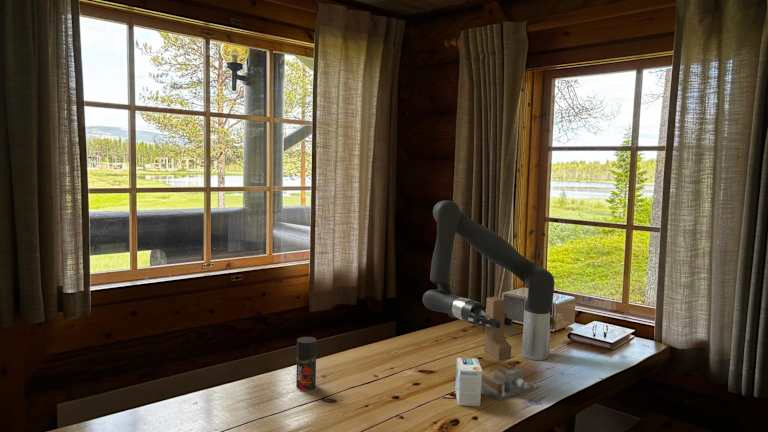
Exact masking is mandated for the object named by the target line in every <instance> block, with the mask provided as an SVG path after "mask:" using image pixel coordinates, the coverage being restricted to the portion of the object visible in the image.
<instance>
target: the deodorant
mask: <svg viewBox="0 0 768 432" xmlns="http://www.w3.org/2000/svg"><path fill="white" fill-rule="evenodd" d="M317 340H318V339H317V338H316V337H313V336H301V337H299V338H297V339H296V375H295V376H296V378H295V379H296V382H295V384H296V385H295V387H297V388H298V389H300V390H299V391H301V390H303V391H302V392H309V391H313V390H315V389H316V384H317V381H316V379H317ZM297 388H296V389H297ZM298 389H297V390H298Z"/></svg>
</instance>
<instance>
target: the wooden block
mask: <svg viewBox="0 0 768 432" xmlns="http://www.w3.org/2000/svg"><path fill="white" fill-rule="evenodd" d="M485 309H486V314H488V317H490V318H491V319H495V320H497V321H500V322H501V328H499V329H498V328H495V327H492V326H487V325H485V326H484V328H485V329H484V346H483V347H484V352H485V353H486V354H488V355H490V356H491V357H493V358H494V359H496V360H497V361H506V360H511V359H512V345H511V344H510V343H509V342H507V339H506V335H505V324H504V320H505V314H506V299H504V298H502V297H501V296H489V297H486V306H485Z"/></svg>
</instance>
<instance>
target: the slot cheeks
mask: <svg viewBox="0 0 768 432" xmlns="http://www.w3.org/2000/svg"><path fill="white" fill-rule="evenodd" d="M506 371H510V369H507V368H504V367H502V366H501V365H497V366H494V370H493V374H495V375H497V376H499V377H501V378H504V379H505V372H506ZM523 380H524V381H525V376H523ZM502 384H503V383H501V382H498V381H496V380H494V379H492V378H490V377H488V376H487V375H485V374H483V373H482V383H481V385H483V386H485V387H487V388H489V389H491V390H493V391H495V392H497V393H498V392H501V391H502Z"/></svg>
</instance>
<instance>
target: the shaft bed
mask: <svg viewBox="0 0 768 432" xmlns="http://www.w3.org/2000/svg"><path fill="white" fill-rule="evenodd" d="M509 370H510V369H509ZM524 372H525V371H524V370H523V369H521V368H515V369H511V370H510V371H506V372H505V379H504V378H501V377H499V376H497V375H495V374H494V373H490V374H487V375H486V376H488V377H490V378H492V379H494V380H496V381H498V382H501V383H503V384H502V391H501V392H498V393H497V392H495V391H493V390H491V389H489V388H487V387H485V386H483V385H481V393H484V394H486V395H488V396H489V397H491V398H494V399H496V400H497V401H501V400H504V399H508V398H511V397H513V396H516V395H519V394H520V395H521V394H523V393H526V392H530V391H533V390H535V385H533V384H531V383H528V382H526V381H525V379H524V380H523V377H524Z"/></svg>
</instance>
